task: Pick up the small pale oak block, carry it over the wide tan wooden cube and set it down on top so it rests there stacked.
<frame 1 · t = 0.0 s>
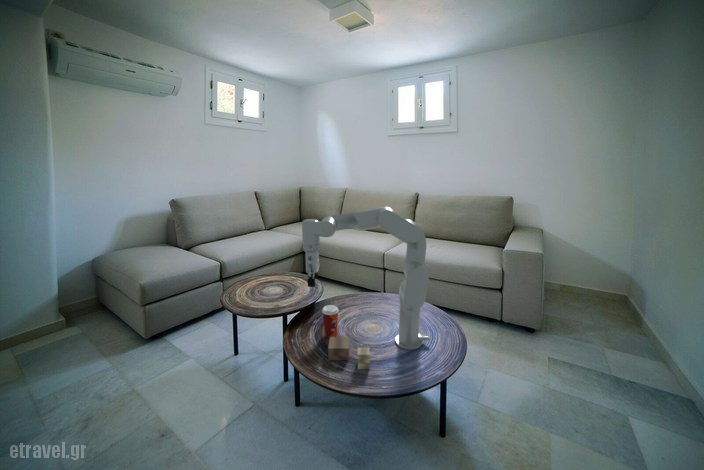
hand: (313, 282, 139), 31 cm above the table, tool pointing down, fingers open, 9 cm apart
coffee cup: (331, 335, 152), on the table
oak block: (363, 365, 130), on the table
tan wooden cube: (339, 354, 138), on the table
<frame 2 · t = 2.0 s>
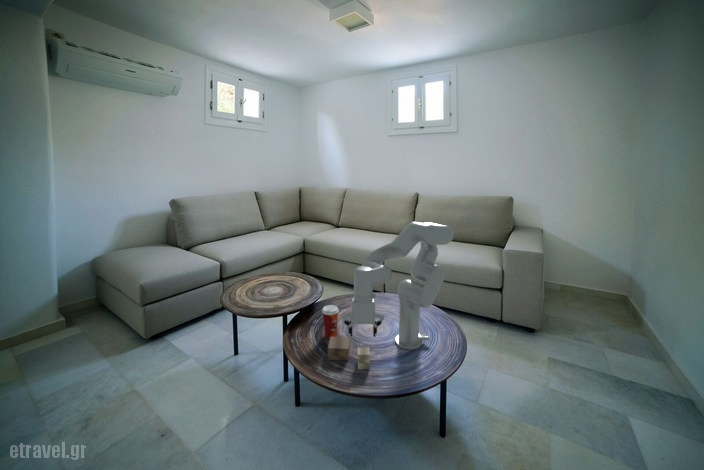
hand: (362, 334, 126), 15 cm above the table, tool pointing down, fingers open, 9 cm apart
nothing on the table moved.
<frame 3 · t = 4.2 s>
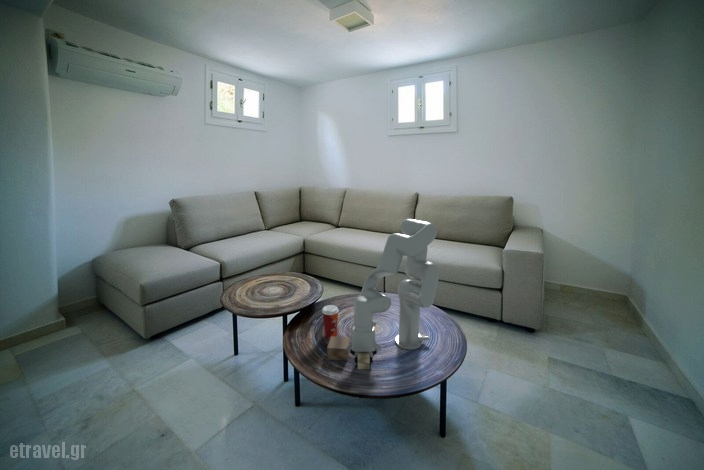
hand: (363, 363, 129), 1 cm above the table, tool pointing down, fingers closed on oak block, 5 cm apart
oak block: (363, 365, 130), on the table, touching gripper
everything else where it was.
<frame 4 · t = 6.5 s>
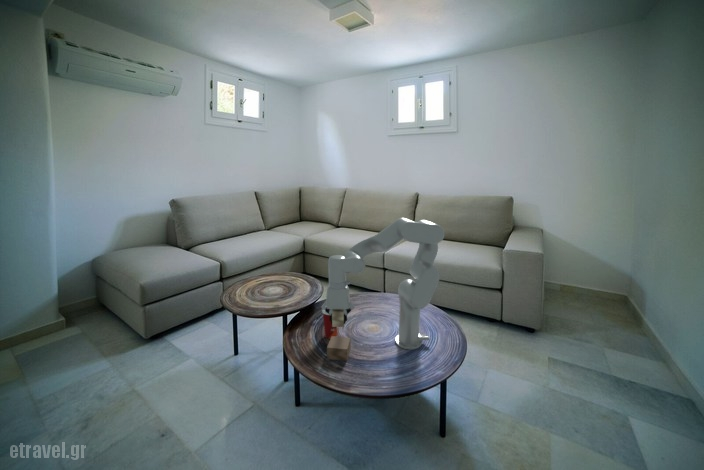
hand: (338, 321, 134), 16 cm above the table, tool pointing down, fingers closed on oak block, 5 cm apart
oak block: (338, 323, 134), point 15 cm above the table, touching gripper
everything else where it was.
when the fingers open (8 cm above the table, at t = 8.7 s): oak block drops 1 cm, resting on tan wooden cube.
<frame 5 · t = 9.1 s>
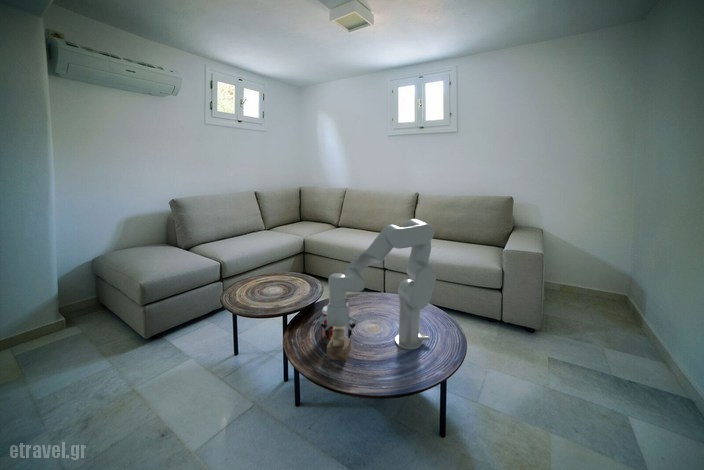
hand: (338, 336, 136), 9 cm above the table, tool pointing down, fingers open, 9 cm apart
oak block: (338, 342, 136), point 6 cm above the table, touching tan wooden cube
tan wooden cube: (339, 354, 138), on the table, touching oak block
everything else where it was.
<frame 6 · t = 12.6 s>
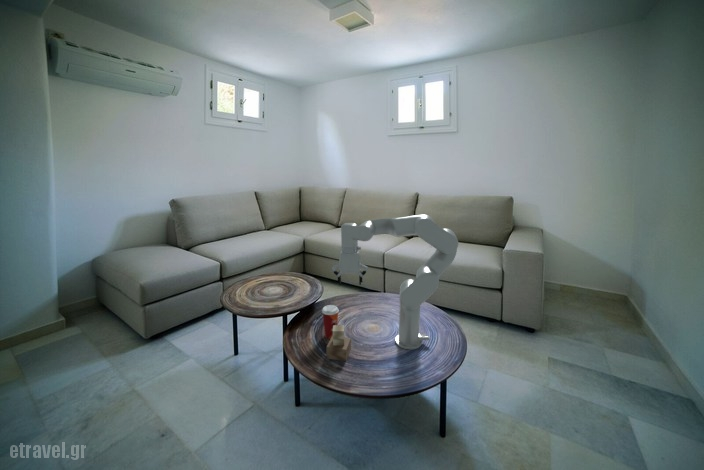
hand: (350, 283, 144), 28 cm above the table, tool pointing down, fingers open, 9 cm apart
nothing on the table moved.
at the end: oak block 0.3 cm off-centre on the tan wooden cube, point 6.0 cm above the tan wooden cube's base; oak block tilted 0°; the gripper is holding nothing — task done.
